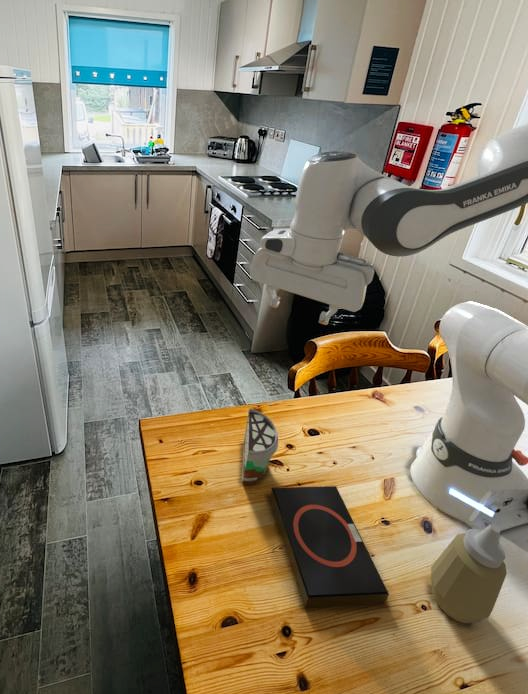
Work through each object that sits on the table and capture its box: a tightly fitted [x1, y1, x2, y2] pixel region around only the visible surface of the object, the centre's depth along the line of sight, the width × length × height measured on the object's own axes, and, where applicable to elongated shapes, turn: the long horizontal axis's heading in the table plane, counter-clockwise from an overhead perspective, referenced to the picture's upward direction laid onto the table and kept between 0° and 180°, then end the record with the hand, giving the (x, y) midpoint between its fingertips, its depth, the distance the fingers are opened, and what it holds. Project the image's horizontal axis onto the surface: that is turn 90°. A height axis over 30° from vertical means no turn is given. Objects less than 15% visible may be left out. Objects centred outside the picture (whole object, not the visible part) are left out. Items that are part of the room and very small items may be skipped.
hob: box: [269, 485, 390, 609], centre depth 69 cm, size 13×18×3 cm
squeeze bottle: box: [430, 524, 507, 624], centre depth 59 cm, size 8×8×18 cm
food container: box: [241, 407, 279, 484], centre depth 82 cm, size 12×6×10 cm, turn 168°
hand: (297, 314), depth 75 cm, fingers open, 8 cm apart
